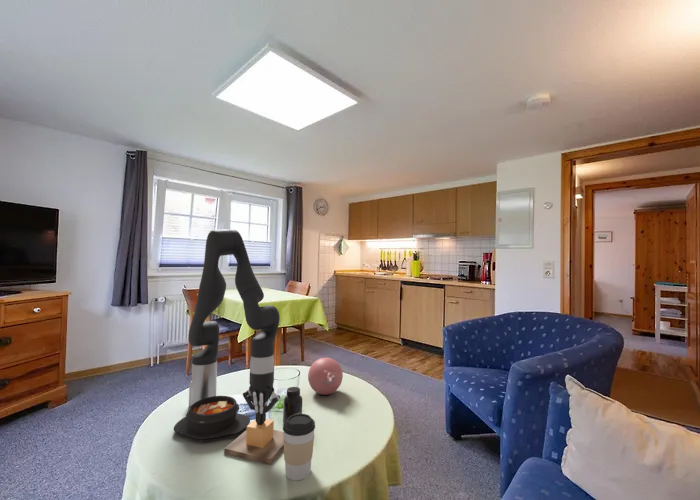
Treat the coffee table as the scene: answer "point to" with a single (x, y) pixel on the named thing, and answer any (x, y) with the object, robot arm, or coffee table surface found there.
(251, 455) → the post stand
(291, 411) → the supplement bottle
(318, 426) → the coffee table surface
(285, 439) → the coffee cup
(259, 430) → the peach cube
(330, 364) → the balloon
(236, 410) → the casserole
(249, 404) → the robot arm
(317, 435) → the coffee table surface
